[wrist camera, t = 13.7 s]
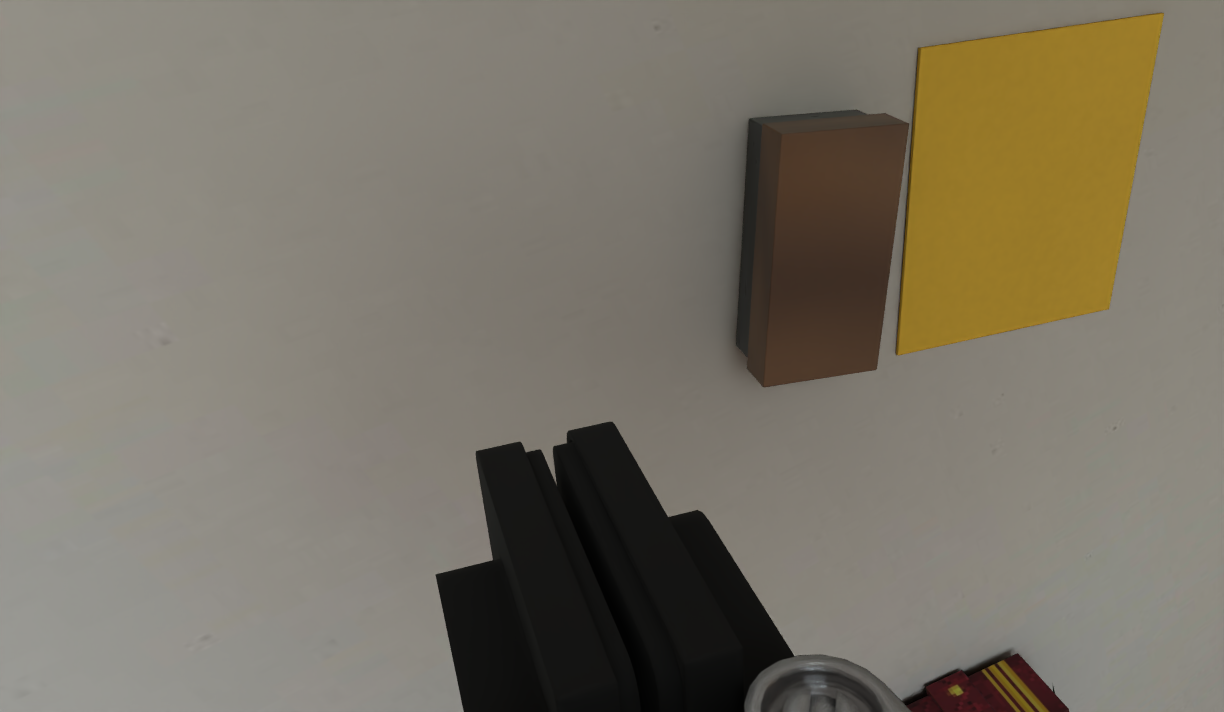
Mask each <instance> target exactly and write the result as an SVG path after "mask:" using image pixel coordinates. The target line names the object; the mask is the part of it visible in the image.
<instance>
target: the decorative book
mask: <svg viewBox="0 0 1224 712" xmlns="http://www.w3.org/2000/svg"><path fill="white" fill-rule="evenodd" d="M926 692H927V696H926V697H924V698H922V699H920V700H918V701H915V702H913V703H911V704H909V705H907V708H908V709H909V710H910V711H911V712H1069V709H1068V708H1067V707H1066V706H1065V704H1064V703H1063V702H1062V701H1061V700H1060V699H1059V698H1058V697H1057V696H1056V695H1055V691H1054V687H1053V691H1052V690H1051V689H1050V688H1049V687H1048V686H1047V685H1046V684H1045V683H1044V681H1043V680H1042V679H1041V678H1040V677H1039V676H1038V675H1037V674H1036V673H1035V672H1034V670H1033V669H1032V668H1031V667H1030V666H1029V665H1028V664H1027V663H1026V662H1025V661H1024V659H1023V658H1022V657H1021V656H1020V655H1019V654H1018V653H1017V654H1015V655H1013V656H1011V657H1009V658H1006V659H1004V660H1002V661H1000V662H998V663H996V664H994V665H992V666H990V667H987V668H985V669H983V670H981V671H979V672H977V673H975V674H973V675H970V676H968V677H967V676H966V675H965V673H964V672H963V671H962V670H961V671H958V672H956V673H954V674H952V675H950V676H948V677H946V678H944V679H941V680H939V681H937V682H935V683H933V684H931V685H929V686H927V687H926Z"/></svg>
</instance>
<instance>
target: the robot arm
mask: <svg viewBox="0 0 1224 712" xmlns="http://www.w3.org/2000/svg"><path fill="white" fill-rule="evenodd" d="M553 458H554V466H555V474H556V482H557V486H556V483H555V481H554V479H553V476H552V474H551V472H550V469H549V467H548V464H547V462H546V460H545V457H544V455H543V453H542V451H541V450H540V449H539V450H535V451H530V452H525V450H524V447H523V445H522V443H521V442H515V443H511V444H506V445H502V446H497V447H493V448H488V449H484V450H479V451H476V461H477V467H478V473H479V479H480V485H481V491H482V497H483V503H484V509H485V515H486V521H487V527H488V533H489V539H490V545H491V551H492V556H493V561H489V562H484V563H480V564H476V565H472V566H468V567H464V568H460V569H456V570H452V571H448V572H444V573H440V574H436V579H437V584H438V589H439V593H440V598H441V603H442V608H443V613H444V618H445V623H446V628H447V632H448V637H449V642H450V647H451V652H452V657H453V662H454V666H455V671H456V676H457V681H458V686H459V691H460V695H461V700H462V705H463V710H464V712H911V711H910V710H909V709H908V708H907V706H906V705H905V704H904V703H903V702H902V701H901V700H900V699H899V698H898V697H897V696H896V695H895V694H894V693H893V692H892V691H891V690H890V689H889V688H888V687H887V686H886V685H885V684H884V683H883V682H882V681H881V680H880V679H878V678H877V677H876V676H875V675H873V674H872V673H871V672H870V671H868V670H867V669H865V668H863V667H861V666H859V665H857V664H854V663H852V662H850V661H848V660H846V659H842V658H837V657H832V656H827V655H798V656H794V655H793V653H792V651H791V650H790V648H789V647H788V645H787V644H786V642H785V640H784V639H783V637H782V636H781V634H780V632H779V631H778V629H777V628H776V626H775V624H774V623H773V621H772V620H771V618H770V617H769V615H768V613H767V612H766V610H765V609H764V607H763V605H762V604H761V602H760V601H759V599H758V598H757V596H756V594H755V593H754V591H753V590H752V588H751V586H750V585H749V583H748V582H747V580H746V579H745V577H744V575H743V574H742V572H741V571H740V569H739V567H738V566H737V564H736V563H735V561H734V560H733V558H732V556H731V555H730V553H729V552H728V550H727V548H726V547H725V545H724V544H723V542H722V541H721V539H720V537H719V536H718V534H717V533H716V531H715V529H714V528H713V526H712V525H711V523H710V522H709V520H708V519H707V518H706V516H705V515H704V514H703V513H702V512H700V511H698V510H696V511H692V512H687V513H683V514H679V515H675V516H671V517H668V516H667V515H666V513H665V511H664V509H663V508H662V506H661V504H660V502H659V501H658V499H657V497H656V495H655V494H654V492H653V490H652V488H651V487H650V485H649V483H648V481H647V480H646V478H645V476H644V474H643V473H642V471H641V469H640V467H639V466H638V464H637V462H636V461H635V459H634V457H633V455H632V454H631V452H630V450H629V448H628V447H627V445H626V443H625V441H624V440H623V438H622V436H621V434H620V433H619V431H618V429H617V427H616V426H615V424H614V423H613V422H606V423H601V424H597V425H592V426H588V427H583V428H579V429H574V430H570V431H568V433H567V443H566V444H562V445H557V446H554V447H553Z"/></svg>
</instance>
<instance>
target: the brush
mask: <svg viewBox="0 0 1224 712" xmlns="http://www.w3.org/2000/svg"><path fill="white" fill-rule="evenodd" d="M908 129H909V123H906V122H904V121H902V120H900V119H897V118H895V117H893V116H890V115H888V114H886V113H882V114H869V115H868V114H865V113H863V112H861V111H859V110H847V111H834V112H822V113H810V114H797V115H785V116H773V117H761V118H750V119H749V130H748V148H747V165H746V183H745V200H744V218H743V235H742V253H741V270H740V287H739V305H738V322H737V340H736V346H737V347H738V348H739V349H740V350H741V351H742V352H743V353H744V355H745V356H746V357H747V369H748V371H749V372H750V373H751V374H752V375H753V376H754V377H755V378H756V380H757V381H758V382H759V383H760V384H761V385H762V386H763V387H769V386H776V385H782V384H788V383H795V382H801V381H808V380H814V379H821V378H827V377H833V376H840V375H846V374H853V373H859V372H866V371H872V370H876V369H877V364H878V356H879V348H880V341H881V333H882V326H883V318H884V311H885V303H886V295H887V288H888V280H889V273H890V265H891V258H892V250H893V242H894V235H895V227H896V220H897V212H898V205H899V197H900V189H901V182H902V174H903V167H904V159H905V152H906V144H907V136H908Z"/></svg>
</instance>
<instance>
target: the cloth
mask: <svg viewBox="0 0 1224 712" xmlns="http://www.w3.org/2000/svg"><path fill="white" fill-rule="evenodd" d="M1163 16H1164V13H1156V14H1149V15H1142V16H1135V17H1128V18H1121V19H1115V20H1108V21H1101V22H1094V23H1087V24H1080V25H1073V26H1066V27H1059V28H1052V29H1046V30H1039V31H1032V32H1025V33H1018V34H1011V35H1004V36H997V37H990V38H984V39H977V40H970V41H963V42H956V43H949V44H942V45H935V46H928V47H922V48H919V49H918V62H917V76H916V89H915V103H914V117H913V130H912V144H911V157H910V171H909V185H908V198H907V212H906V225H905V239H904V252H903V266H902V280H901V293H900V307H899V320H898V334H897V348H896V354H897V355H902V354H907V353H911V352H916V351H920V350H925V349H930V348H934V347H939V346H943V345H948V344H952V343H957V342H961V341H966V340H970V339H975V338H979V337H984V336H989V335H993V334H998V333H1002V332H1007V331H1011V330H1016V329H1020V328H1025V327H1029V326H1034V325H1039V324H1043V323H1048V322H1052V321H1057V320H1061V319H1066V318H1070V317H1075V316H1079V315H1084V314H1088V313H1093V312H1098V311H1102V310H1107V309H1109V306H1110V301H1111V295H1112V290H1113V285H1114V279H1115V274H1116V269H1117V263H1118V258H1119V253H1120V247H1121V242H1122V236H1123V231H1124V226H1125V220H1126V215H1127V210H1128V204H1129V199H1130V193H1131V188H1132V183H1133V177H1134V172H1135V167H1136V161H1137V156H1138V151H1139V145H1140V140H1141V134H1142V129H1143V124H1144V118H1145V113H1146V108H1147V102H1148V97H1149V92H1150V86H1151V81H1152V75H1153V70H1154V65H1155V59H1156V54H1157V49H1158V43H1159V38H1160V33H1161V27H1162V22H1163Z"/></svg>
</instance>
